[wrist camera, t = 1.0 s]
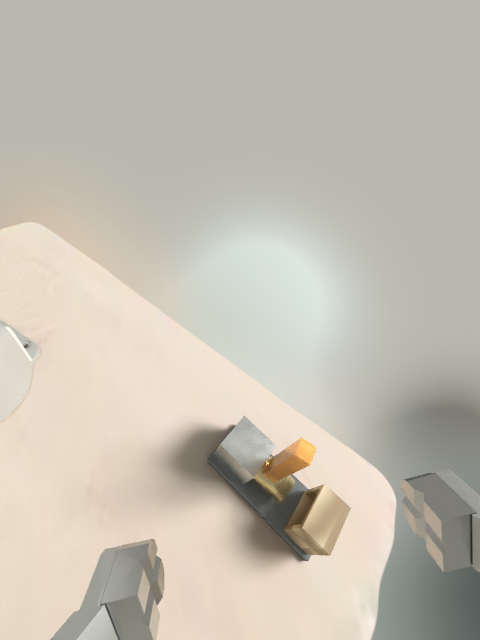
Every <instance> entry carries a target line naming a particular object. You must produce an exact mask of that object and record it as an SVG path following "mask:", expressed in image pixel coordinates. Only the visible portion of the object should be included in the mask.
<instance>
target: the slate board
mask: <svg viewBox="0 0 480 640" xmlns="http://www.w3.org/2000/svg"><path fill="white" fill-rule="evenodd" d="M214 452H215V451H214ZM214 452H213V453H214ZM213 453H212V455H211V456H210V457H209V458H208V459H207V461H208V462H209V463H210V464H211V465H212V466H213V467H214V468H215V469H216V470H217V471H218V472H219V473H220V474H221V476H222V477H223V478H224V479H225V480H226V481H227V482H228V483H229V484H230V485H231V486H232V487H233V488H234V489H235V490H236V491H237V492H238V493H239V494H240V495H241V496H242V497H243V498H244V499H245V500H246V501H247V502H248V503H249V504H250V505H251V506H252V507H253V508H254V509H255V510H256V511H257V512H258V513H259V514H260V515H261V516H262V517H263V518H264V519H265V520H266V521H267V522H268V523H269V524H270V526H271V527H272V528H273V529H274V530H275V531H276V532H277V533H278V534H279V535H280V536H281V537H282V538H283V539H284V540H285V541H286V542H287V543H288V544H289V545H290V546H291V547H292V548H293V549H294V550H295V551H296V552H297V553H298V554H299V555H300V556H301V557H302V558H303V559H304V560H305V561H308V560H309V558H310V556H311V555H308V554H307V553H306V552H305V551H304V550H303V549H302V548H301V547H300V546H299V545H298V544H297V543H296V542H295V541H294V540H293V539H292V538H291V537H290V536H289V535H288V534H287V533H286V532H285V531H284V528H285V526H286V524H287V523H288V521H289V519H290V517H291V516H292V514H293V512H294V510H295V508H296V507H297V505H298V503H299V501H300V499H301V498H302V496H303V494H304V492H305V491H307V490H308V489H307V488H306V487H305V486H304V485H303V484H302V483H301V482H300V481H299V480H298V479H297V478H296V477H295V476H294V475H293V474H291V475H290V476H291V477H292V478H293V479H294V480H295V483H294V485H293V487H292V489H291V491H290V492H289V494H288V495H287V496H286V498H285V499H284V500H283V501H282V502H281V503H277V502H276V501H275V500H274V499H273V498H272V497H271V496H270V495H269V494H268V493H267V492H266V491H265V490H264V489H263V488H262V487H261V486H260V485H259V484H258V483H257V482H256V481H255V480H254V479H251V480H250V481H248V482H246V483H245V484H242V483H241V482H240V481H239V480H238V479H237V478H236V477H235V476H234V475H233V474H232V473H231V472H230V471H229V470H228V469H227V468H226V467H225V466H224V465H223V464H222V463H221V462H220V461H219V460H218V459H217V458H216V457H215V456H214V455H213ZM270 457H271V458H273V457H274V456H272V455H271V454H270Z"/></svg>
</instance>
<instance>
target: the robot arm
mask: <svg viewBox="0 0 480 640" xmlns="http://www.w3.org/2000/svg"><path fill="white" fill-rule="evenodd" d="M25 346H28V347H27V348H24V347H25ZM40 355H41V348H40V347H39V346H38V345H37V344H36V343H35V342H33V341H32V340H30V339H29V338H27V337H26V336H24V335H23V334H21V333H20V332H18V331H17V330H15V329H14V328H12V327H11V326H9V325H8V324H6V323H5V322H3V321H2V320H1V319H0V421H2V420H3V419H4V418H6V417H7V416H8V415H9V414H10V413H12V412H13V411H14V410H15V409H16V407H17V406H18V405H19V404H20V403H21V401H22V400H23V399H24V397H25V395H26V394H27V392H28V389H29V387H30V384H31V379H32V370H33V366H34V365H35V363H36V362H37V360H38V358H39V357H40ZM401 490H402V491H403V493H404V494H405V497H404V499H403V500H402V504H403V511H404V513H405V516H406V519H407V521H408V523H409V525H410V526H411V528H412V529H413V531H414V532H415V534H416V535H417V536H419V537H421V538H422V539H424V540H426V546H427V550H428V552H429V553H430V554H431V556H432V557H433V558H434V559H435V561H436V562H437V564H438V565H439V566H440V568H441V569H442V571H443V572H446V571H451V570H456V569H460V568H465V567H470V566H473V568H474V569H475V570H477V571H478V572H480V496H479V495H478V494H476V493H475V492H474V491H473V490H472V489H471V488H470V487H469V486H468V485H466V484H465V483H464V482H463V481H462V480H461V479H460V478H459V477H458V476H456V475H455V474H454V473H453V472H452V471H451V470H449V469H443V470H439V471H435V472H431V473H426V474H423V475H418V476H414V477H410V478H407V479H403V480H402V481H401ZM156 553H157V545H156V542H155V540H154V539H150V540H145V541H140V542H136V543H131V544H126V545H121V546H118V547H113V548H108V549H105V550H104V551H103V553H102V554H101V556H100V558H99V561H98V563H97V566H96V569H95V571H94V574H93V576H92V579H91V582H90V584H89V587H88V589H87V592H86V595H85V597H84V600H83V602H82V605H81V608H80V610H79V611H75V612H74V613H73V614H72V615H71V616H70V617H69V619H68V620H67V621H66V622H65V623H64V624H63V626H62V627H61V628H60V629H59V630H58V631H57V633H56V634H55V635H54V636H53V637H52V638H51V640H156V637H157V630H158V624H159V618H160V614H159V611H158V608H157V605H158V604H159V602H160V601H161V599H162V597H163V591H164V568H163V563H162V560H161V558H159V557H158V556H156Z"/></svg>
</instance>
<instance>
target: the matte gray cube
mask: <svg viewBox="0 0 480 640" xmlns="http://www.w3.org/2000/svg"><path fill="white" fill-rule="evenodd" d="M275 447H276V445H275V444H274V443H273V442H272V441H271V440H270V439H269V438H268V437H266V436H265V435H264V434H263V433H262V432H261V431H260V430H259V429H258V428H257V427H256V426H255V425H254V424H252V423H251V422H250V421H249V420H248V419H247V418H246V417H245V416H244V417H243V418H242V419H241V420H240V422H239V423H238V424H237V425H236V426H235V427H234V429H233V430H232V431H231V432H230V433H229V434H228V436H227V437H226V438H225V439H224V440H223V441H222V443H221V444H220V445H219V446H218V448H217V449H216V450H215V452H214V453H213V455H214V456H215V457H216V458H217V459H218V460H219V461H220V462H221V463H222V464H223V465H224V466H225V467H226V468H227V469H228V470H229V471H230V472H231V473H232V474H233V475H234V476H235V477H236V478H237V479H238V480H239V481H240V482H241V483H242V484H245V483H246V482H248V481H250V480H251V479H253V478H254V477H255V475H256V474H257V473H258V471H259V470H260V468H261V467H262V466H263V464H264V463H265V461H266V460H267V458H268V457H269V456H270V454H271V453H272V451H273V450H274V448H275Z"/></svg>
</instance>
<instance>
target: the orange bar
mask: <svg viewBox="0 0 480 640" xmlns="http://www.w3.org/2000/svg"><path fill="white" fill-rule="evenodd" d="M315 450H316V447H315V446H314V445H312V444H311V443H309V442H307V441H306V440H304V439H303V438H300V439H299V440H298V441H296V442H295V443H293V444H292V445H290V446H289V447H288V448H286V449H285V450H283V451H282V452H280V453H279V454H277V455H276V456H275V457H273V458H271V457H270V456H269V457H268V458H267V460H266V461H265V463H264V464H263V466H262V467H261V468H260V470H259V471H258V473H257V474H256V475H255V477H254V478H253V479H254V480H255V481H256V482H257V483H258V484H259V485H260V486H261V487H262V488H263V489H264V490H265V491H266V492H267V493H268V494H269V495H270V496H271V497H272V498H273V499H274V500H275V501H276V502H277V503H281V502H282V501H283V500H284V499H285V498H286V496H287V495H288V494H289V492H290V491H291V489H292V487H293V485H294V483H295V480H294V479H293V478H292V477H291V476H290V475H291V474H293V473H295V472H297V471H299V470H301V469H303V468H305V467H307V466H309V465H310V464H311V461H312V459H313V456H314V453H315Z"/></svg>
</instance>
